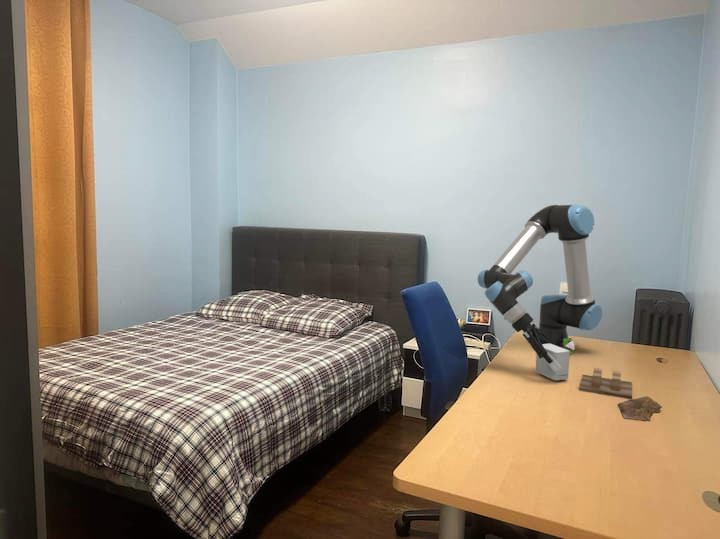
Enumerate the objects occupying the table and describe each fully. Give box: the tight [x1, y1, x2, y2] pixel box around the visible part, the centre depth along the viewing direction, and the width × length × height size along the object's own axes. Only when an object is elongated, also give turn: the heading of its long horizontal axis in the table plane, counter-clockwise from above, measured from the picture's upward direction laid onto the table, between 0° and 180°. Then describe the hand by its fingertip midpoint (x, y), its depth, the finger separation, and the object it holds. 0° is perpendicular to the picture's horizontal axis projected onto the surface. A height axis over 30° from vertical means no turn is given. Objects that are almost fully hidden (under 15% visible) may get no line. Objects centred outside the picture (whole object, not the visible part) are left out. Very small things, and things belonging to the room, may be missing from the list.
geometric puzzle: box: [560, 337, 579, 355], centre depth 218 cm, size 7×7×8 cm
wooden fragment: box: [617, 395, 663, 422], centre depth 158 cm, size 26×11×1 cm, turn 135°
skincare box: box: [535, 343, 571, 381], centre depth 184 cm, size 10×6×10 cm, turn 21°
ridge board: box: [578, 367, 633, 400], centre depth 176 cm, size 16×16×5 cm
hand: (560, 365), depth 183 cm, fingers closed on skincare box, 11 cm apart
